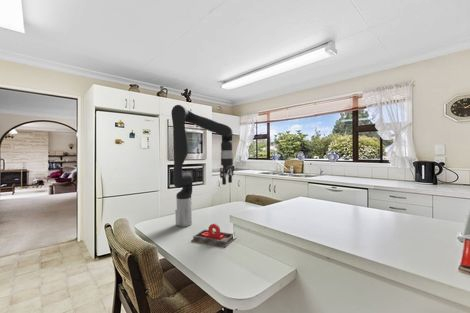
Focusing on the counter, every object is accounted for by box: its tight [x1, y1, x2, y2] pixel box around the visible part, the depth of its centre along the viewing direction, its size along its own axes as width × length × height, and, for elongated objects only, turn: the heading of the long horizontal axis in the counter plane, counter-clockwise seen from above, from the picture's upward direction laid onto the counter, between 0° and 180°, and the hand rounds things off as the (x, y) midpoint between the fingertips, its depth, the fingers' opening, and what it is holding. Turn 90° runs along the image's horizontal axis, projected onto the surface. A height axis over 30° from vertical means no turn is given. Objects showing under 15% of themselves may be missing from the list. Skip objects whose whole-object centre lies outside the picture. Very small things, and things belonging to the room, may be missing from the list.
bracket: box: [201, 223, 224, 240], centre depth 118 cm, size 12×4×8 cm, turn 60°
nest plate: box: [191, 229, 235, 248], centre depth 117 cm, size 20×13×2 cm, turn 66°
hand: (227, 183), depth 139 cm, fingers open, 8 cm apart
